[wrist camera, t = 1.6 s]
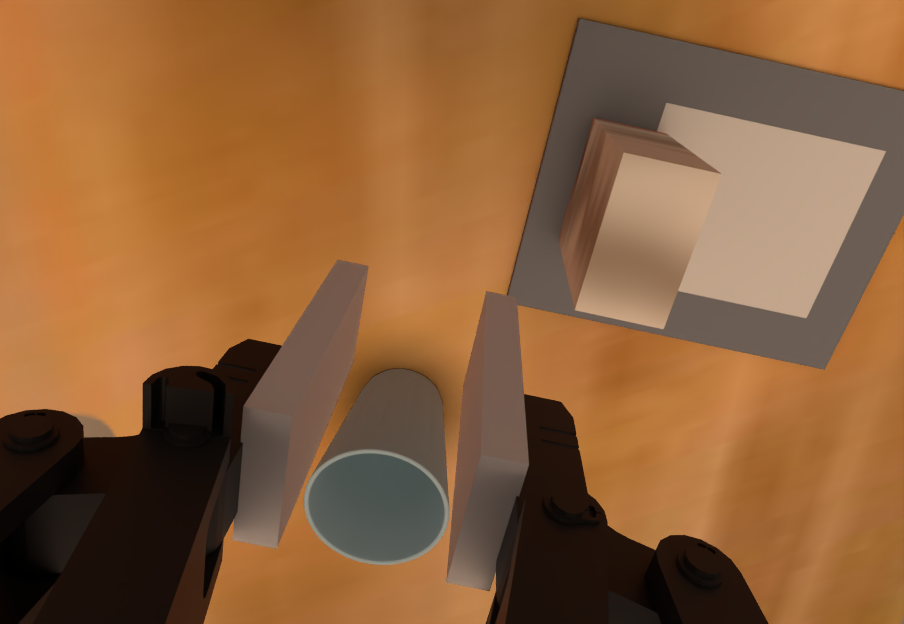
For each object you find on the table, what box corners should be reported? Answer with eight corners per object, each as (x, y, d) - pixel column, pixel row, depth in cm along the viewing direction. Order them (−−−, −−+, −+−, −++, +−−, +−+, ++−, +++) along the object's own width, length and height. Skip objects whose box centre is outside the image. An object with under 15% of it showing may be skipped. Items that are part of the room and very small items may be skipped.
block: (593, 117, 35) (623, 152, 26) (666, 133, 35) (722, 174, 26) (558, 239, 38) (574, 310, 29) (625, 254, 38) (663, 329, 29)
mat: (578, 18, 34) (580, 18, 33) (952, 102, 34) (960, 103, 34) (506, 298, 40) (506, 302, 40) (820, 364, 41) (825, 370, 40)
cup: (433, 337, 42) (414, 433, 32) (476, 432, 45) (470, 546, 35) (326, 372, 43) (279, 473, 34) (374, 462, 46) (343, 578, 37)
